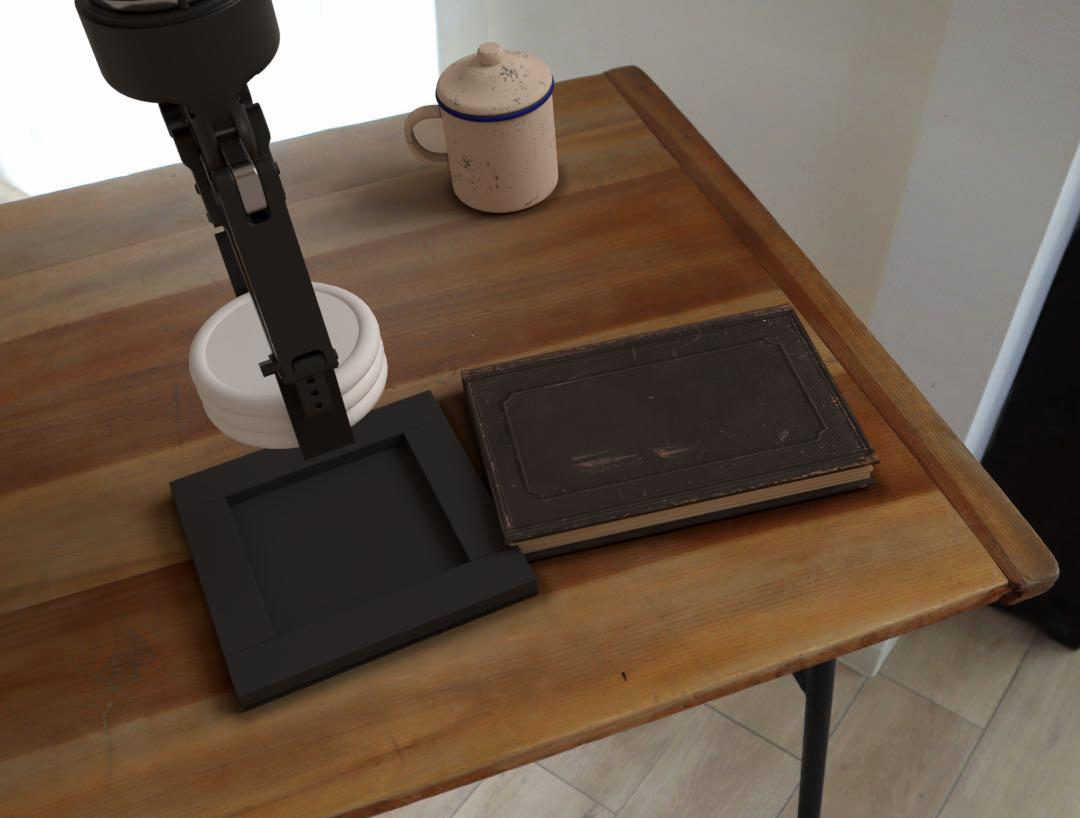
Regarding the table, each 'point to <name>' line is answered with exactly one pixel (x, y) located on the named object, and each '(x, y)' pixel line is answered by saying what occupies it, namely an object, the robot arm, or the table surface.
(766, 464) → the hardcover book
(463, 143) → the teacup with lid
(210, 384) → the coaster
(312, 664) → the base pad
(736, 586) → the table surface
